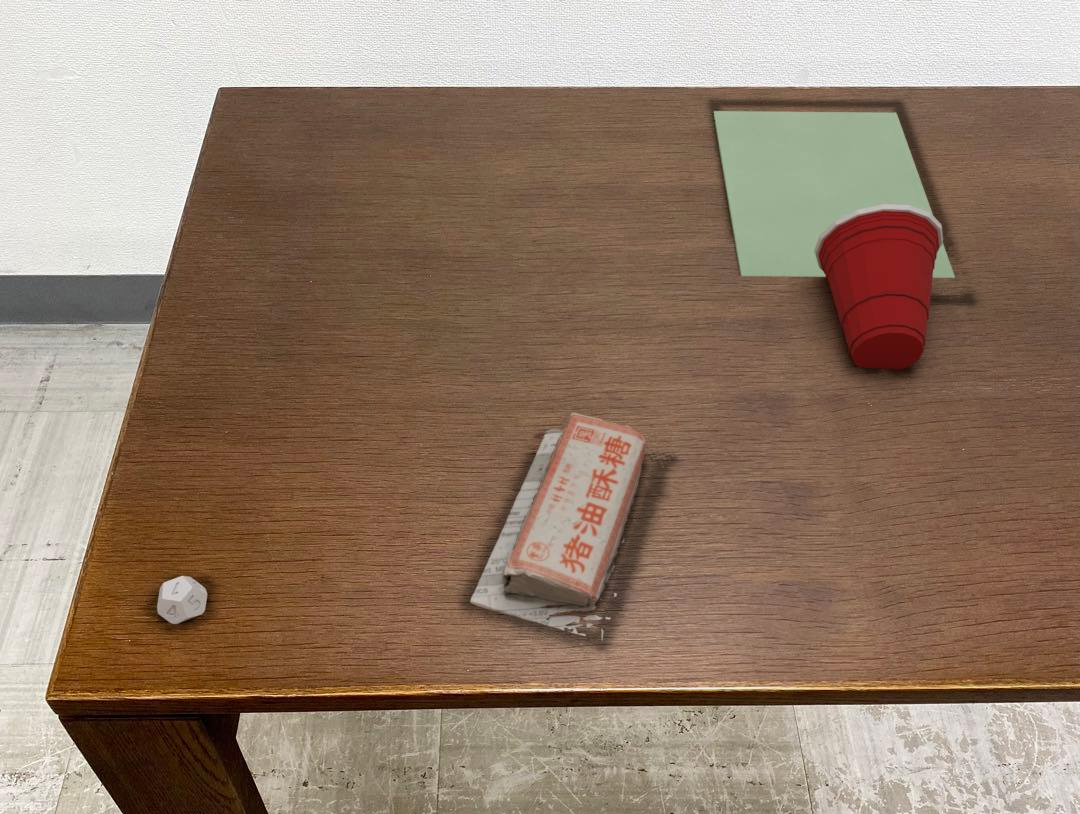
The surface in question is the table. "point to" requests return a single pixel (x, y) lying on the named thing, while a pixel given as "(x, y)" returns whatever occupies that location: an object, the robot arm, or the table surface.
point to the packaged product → (565, 524)
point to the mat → (810, 181)
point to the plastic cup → (882, 281)
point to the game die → (181, 599)
